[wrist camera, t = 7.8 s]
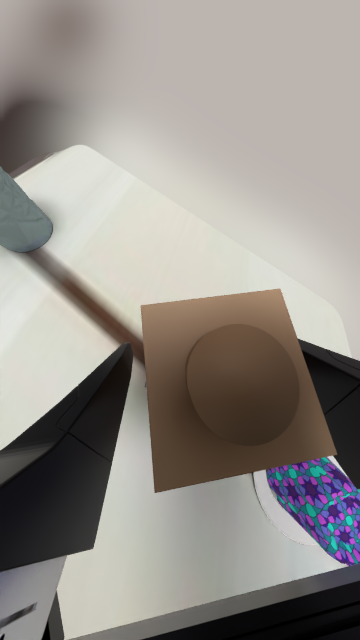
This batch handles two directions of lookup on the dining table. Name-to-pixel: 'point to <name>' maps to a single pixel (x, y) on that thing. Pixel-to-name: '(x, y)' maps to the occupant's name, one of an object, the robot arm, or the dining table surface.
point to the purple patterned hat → (314, 506)
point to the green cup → (20, 218)
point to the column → (228, 389)
